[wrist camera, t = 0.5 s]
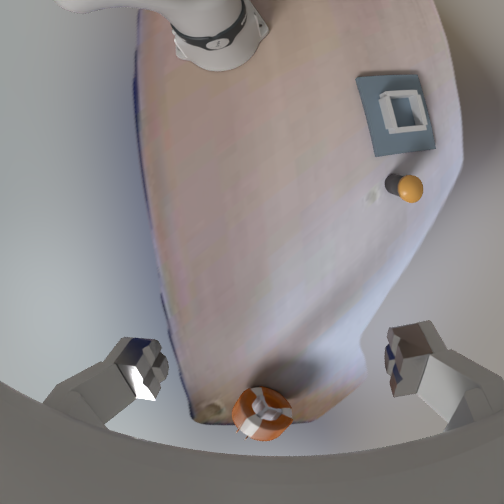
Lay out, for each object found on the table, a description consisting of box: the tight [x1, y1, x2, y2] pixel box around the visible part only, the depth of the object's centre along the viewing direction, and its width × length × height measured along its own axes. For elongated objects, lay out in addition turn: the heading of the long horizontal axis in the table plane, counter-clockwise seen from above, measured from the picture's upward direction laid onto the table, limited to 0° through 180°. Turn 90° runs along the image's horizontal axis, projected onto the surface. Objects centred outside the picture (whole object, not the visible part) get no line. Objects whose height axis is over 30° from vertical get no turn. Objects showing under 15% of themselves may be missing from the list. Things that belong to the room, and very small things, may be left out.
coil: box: [232, 386, 293, 441], centre depth 63 cm, size 7×15×15 cm, turn 68°
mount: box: [355, 75, 436, 157], centre depth 43 cm, size 16×14×5 cm
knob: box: [385, 174, 423, 203], centre depth 46 cm, size 5×5×8 cm
